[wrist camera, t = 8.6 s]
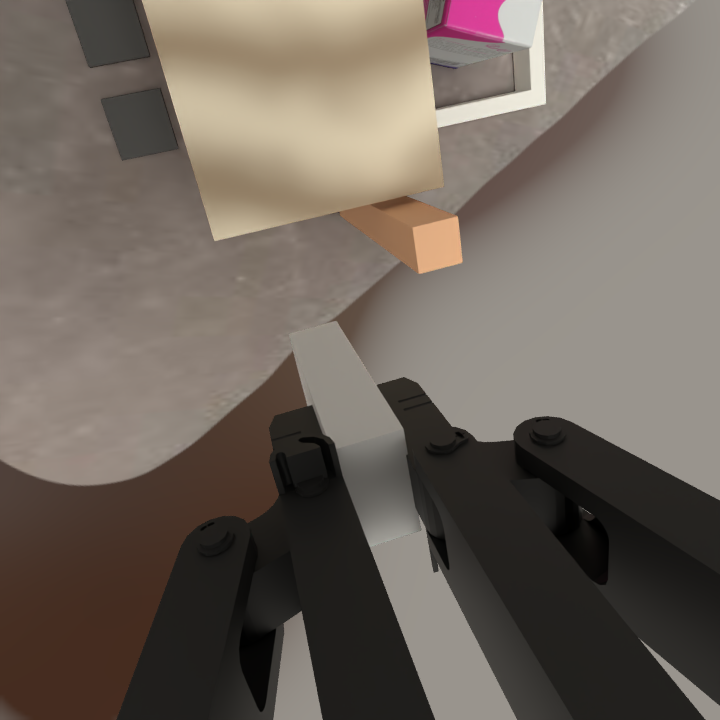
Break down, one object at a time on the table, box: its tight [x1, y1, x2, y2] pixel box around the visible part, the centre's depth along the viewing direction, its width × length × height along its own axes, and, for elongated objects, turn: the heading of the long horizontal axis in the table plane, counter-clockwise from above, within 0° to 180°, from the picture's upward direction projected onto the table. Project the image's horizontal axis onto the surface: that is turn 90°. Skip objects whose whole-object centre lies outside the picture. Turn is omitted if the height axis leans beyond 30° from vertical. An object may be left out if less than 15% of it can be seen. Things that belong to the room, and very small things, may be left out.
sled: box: [340, 0, 546, 274], centre depth 34 cm, size 18×17×19 cm
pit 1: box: [66, 0, 150, 68], centre depth 37 cm, size 4×4×1 cm
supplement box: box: [423, 0, 542, 69], centre depth 36 cm, size 6×6×12 cm
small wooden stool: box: [142, 0, 444, 241], centre depth 34 cm, size 17×14×14 cm
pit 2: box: [101, 88, 178, 161], centre depth 39 cm, size 4×4×1 cm
